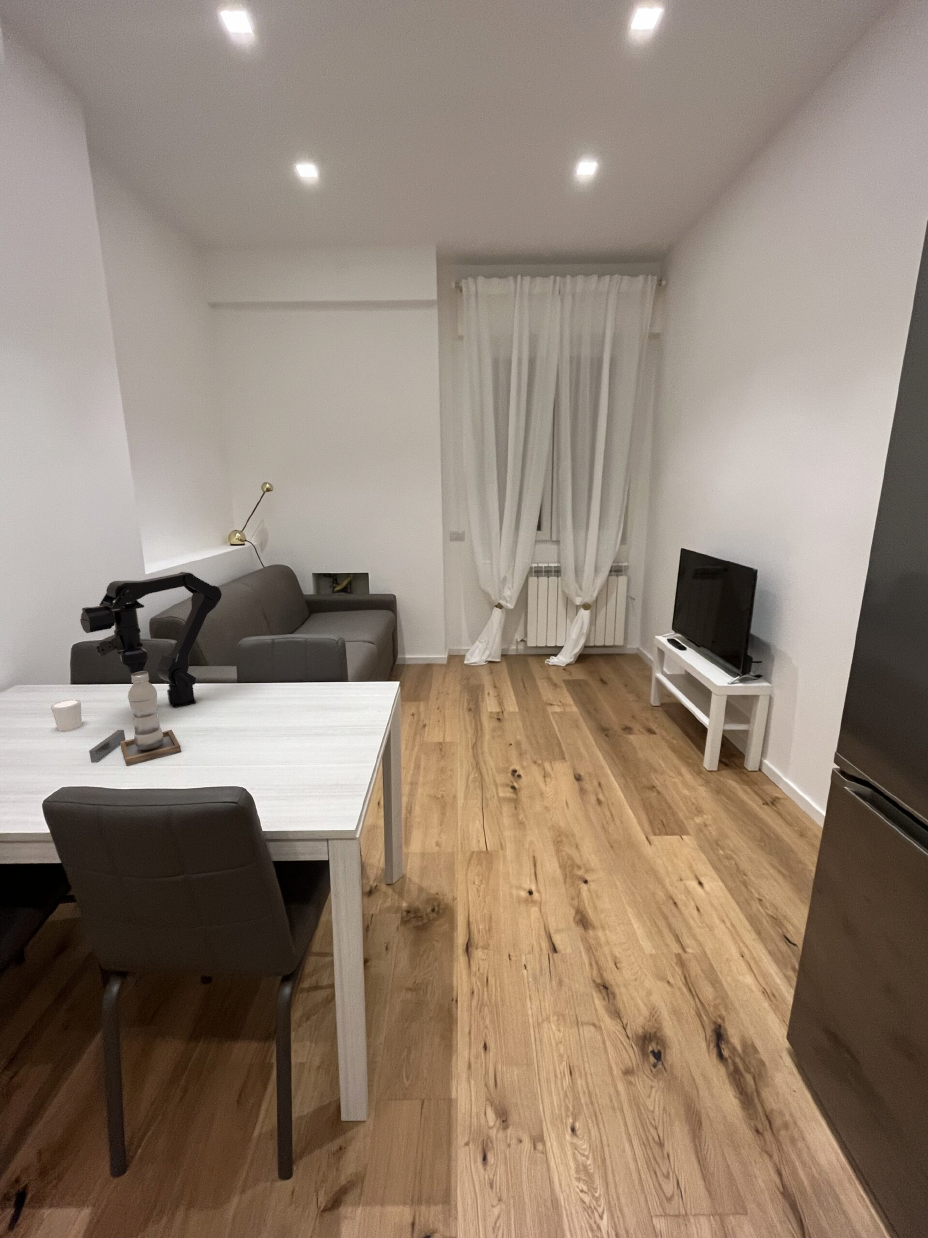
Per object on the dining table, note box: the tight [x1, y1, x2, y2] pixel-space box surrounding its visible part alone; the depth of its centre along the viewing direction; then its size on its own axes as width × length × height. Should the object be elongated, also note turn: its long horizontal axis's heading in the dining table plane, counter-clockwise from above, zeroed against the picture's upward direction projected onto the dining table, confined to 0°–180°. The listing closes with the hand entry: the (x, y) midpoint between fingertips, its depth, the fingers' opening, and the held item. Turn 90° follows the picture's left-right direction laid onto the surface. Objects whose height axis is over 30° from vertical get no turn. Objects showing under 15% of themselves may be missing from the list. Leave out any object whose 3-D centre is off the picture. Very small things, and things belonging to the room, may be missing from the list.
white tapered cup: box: [50, 699, 83, 732], centre depth 153 cm, size 7×7×7 cm
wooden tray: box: [119, 729, 182, 767], centre depth 140 cm, size 12×12×2 cm
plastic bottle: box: [127, 670, 164, 751], centre depth 138 cm, size 6×7×20 cm
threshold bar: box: [88, 729, 126, 763], centre depth 140 cm, size 12×2×3 cm, turn 1°
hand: (134, 677), depth 158 cm, fingers open, 9 cm apart
